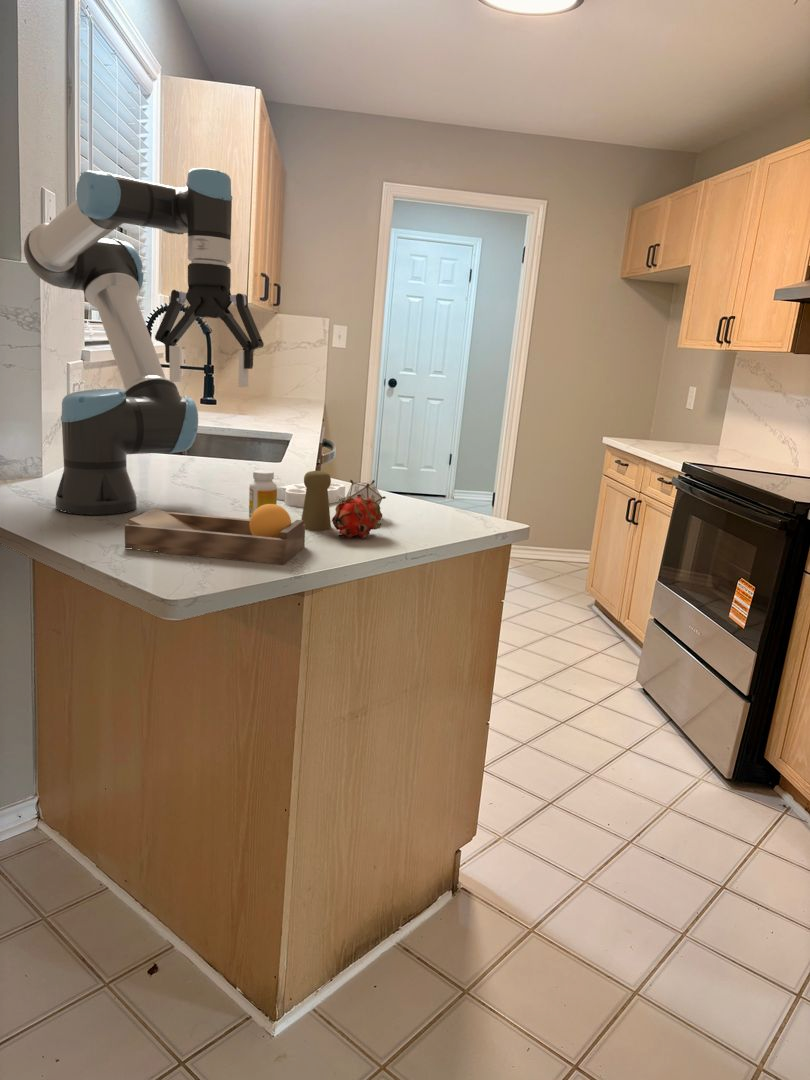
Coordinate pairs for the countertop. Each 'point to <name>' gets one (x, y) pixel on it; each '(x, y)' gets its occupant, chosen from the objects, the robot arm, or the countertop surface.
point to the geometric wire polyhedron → (364, 491)
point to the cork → (316, 501)
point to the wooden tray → (211, 537)
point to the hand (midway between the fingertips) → (208, 384)
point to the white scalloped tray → (297, 492)
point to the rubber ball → (269, 521)
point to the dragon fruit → (357, 517)
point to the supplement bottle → (262, 490)
